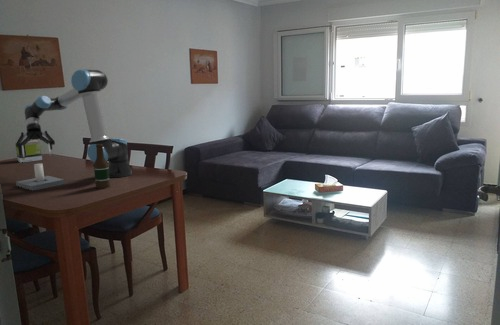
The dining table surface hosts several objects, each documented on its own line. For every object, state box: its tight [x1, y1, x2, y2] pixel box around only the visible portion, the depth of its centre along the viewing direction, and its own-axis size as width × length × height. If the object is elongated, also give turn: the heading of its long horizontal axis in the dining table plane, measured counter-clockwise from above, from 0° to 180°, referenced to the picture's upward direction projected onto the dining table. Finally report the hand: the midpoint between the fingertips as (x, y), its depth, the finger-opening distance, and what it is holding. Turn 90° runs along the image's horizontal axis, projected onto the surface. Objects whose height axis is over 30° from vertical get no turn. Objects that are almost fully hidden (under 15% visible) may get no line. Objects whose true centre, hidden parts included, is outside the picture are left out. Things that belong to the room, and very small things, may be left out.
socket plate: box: [15, 175, 66, 191], centre depth 219 cm, size 18×18×2 cm
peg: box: [33, 163, 45, 183], centre depth 218 cm, size 4×4×12 cm
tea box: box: [15, 139, 43, 163], centre depth 291 cm, size 15×10×15 cm, turn 130°
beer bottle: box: [93, 144, 111, 190], centre depth 211 cm, size 8×8×24 cm
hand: (37, 154), depth 225 cm, fingers open, 13 cm apart
